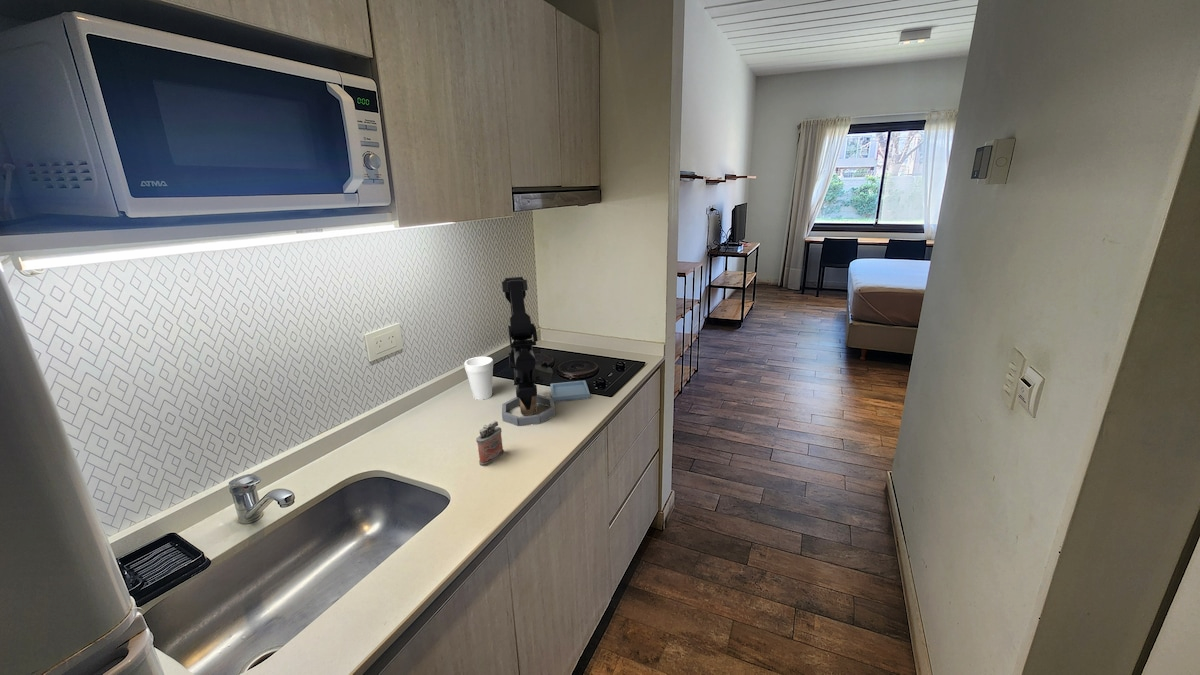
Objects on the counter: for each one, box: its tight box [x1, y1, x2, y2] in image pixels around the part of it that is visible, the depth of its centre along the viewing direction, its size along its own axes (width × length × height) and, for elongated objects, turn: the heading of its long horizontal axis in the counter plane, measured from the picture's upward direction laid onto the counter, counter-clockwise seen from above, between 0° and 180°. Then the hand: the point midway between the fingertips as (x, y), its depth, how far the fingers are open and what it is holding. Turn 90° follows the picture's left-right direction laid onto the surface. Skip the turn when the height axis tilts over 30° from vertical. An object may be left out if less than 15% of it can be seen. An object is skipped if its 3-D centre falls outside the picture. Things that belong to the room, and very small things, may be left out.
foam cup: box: [463, 356, 494, 401], centre depth 168 cm, size 10×9×13 cm
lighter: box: [475, 420, 505, 467], centre depth 130 cm, size 8×3×10 cm, turn 148°
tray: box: [549, 380, 591, 403], centre depth 169 cm, size 12×13×2 cm
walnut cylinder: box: [519, 396, 537, 416], centre depth 155 cm, size 5×5×7 cm
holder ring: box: [501, 394, 556, 427], centre depth 156 cm, size 16×16×2 cm
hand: (528, 405), depth 155 cm, fingers closed on walnut cylinder, 5 cm apart
